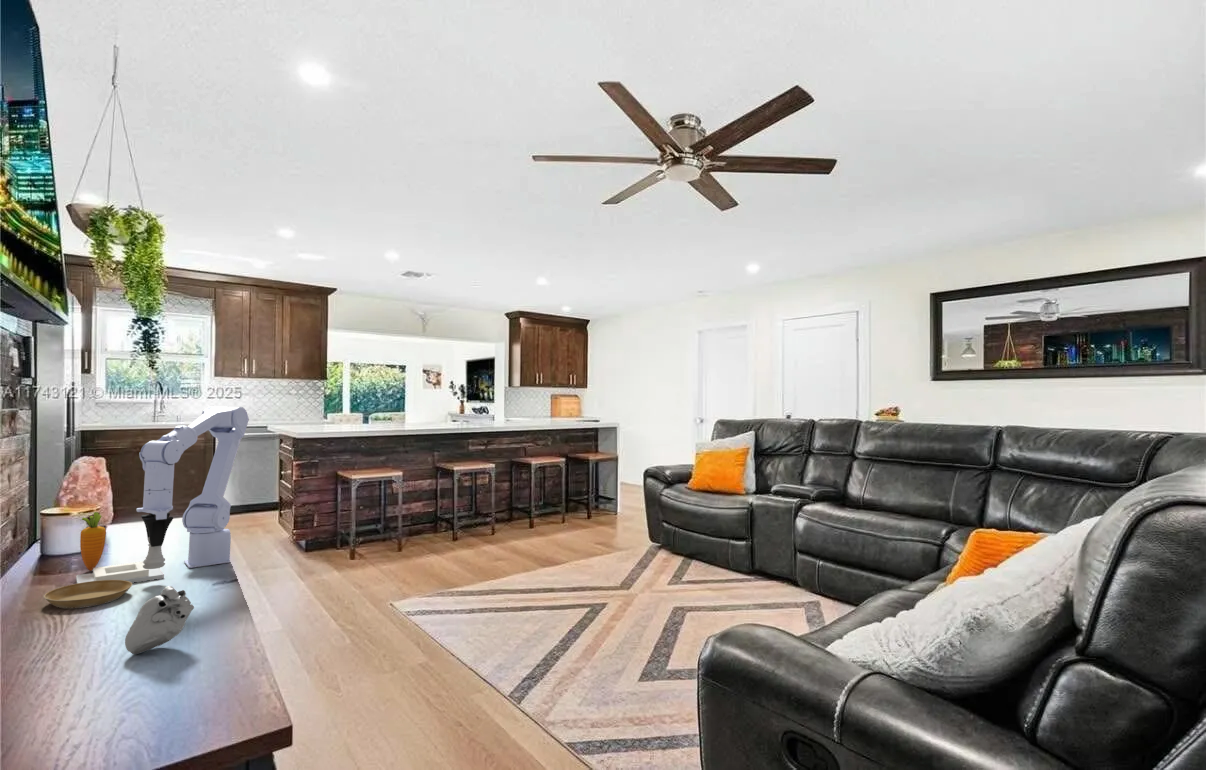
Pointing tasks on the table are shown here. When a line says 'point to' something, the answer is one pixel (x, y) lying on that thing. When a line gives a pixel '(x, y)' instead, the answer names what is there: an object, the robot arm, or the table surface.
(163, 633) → the heart
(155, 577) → the holder stand
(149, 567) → the rook chess piece
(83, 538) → the carrot
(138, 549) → the table surface
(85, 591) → the plant saucer
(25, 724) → the table surface
